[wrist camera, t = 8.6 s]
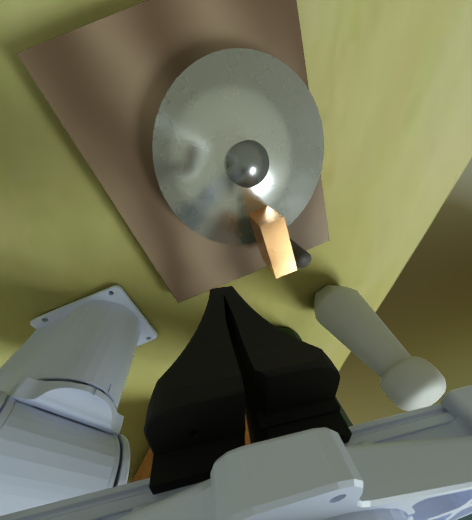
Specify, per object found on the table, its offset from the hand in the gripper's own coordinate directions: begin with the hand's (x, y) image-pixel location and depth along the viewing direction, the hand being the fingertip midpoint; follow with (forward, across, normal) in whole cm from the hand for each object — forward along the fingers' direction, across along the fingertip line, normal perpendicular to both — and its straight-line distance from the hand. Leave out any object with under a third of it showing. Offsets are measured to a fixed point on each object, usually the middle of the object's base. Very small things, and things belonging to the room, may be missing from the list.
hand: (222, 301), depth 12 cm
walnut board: (+9, -1, -7) cm, 12 cm away
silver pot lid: (+8, -3, -6) cm, 11 cm away
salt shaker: (+10, -14, +9) cm, 20 cm away
